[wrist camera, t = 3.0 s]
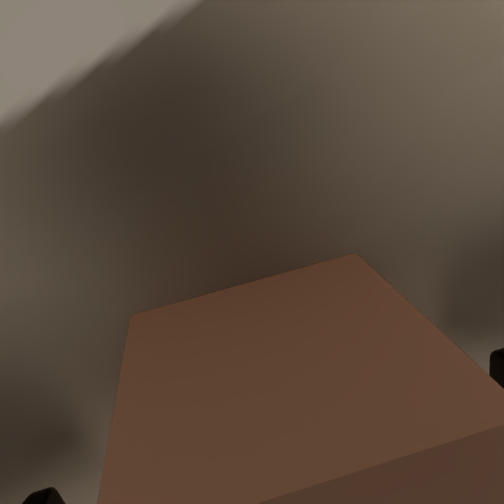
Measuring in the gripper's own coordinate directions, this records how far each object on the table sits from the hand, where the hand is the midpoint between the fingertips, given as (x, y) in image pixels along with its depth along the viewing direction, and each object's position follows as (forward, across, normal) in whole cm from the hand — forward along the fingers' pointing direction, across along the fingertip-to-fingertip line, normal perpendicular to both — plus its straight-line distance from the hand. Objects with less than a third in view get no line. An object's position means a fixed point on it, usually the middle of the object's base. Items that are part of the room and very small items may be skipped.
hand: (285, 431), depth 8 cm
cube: (+2, 0, 0) cm, 2 cm away
